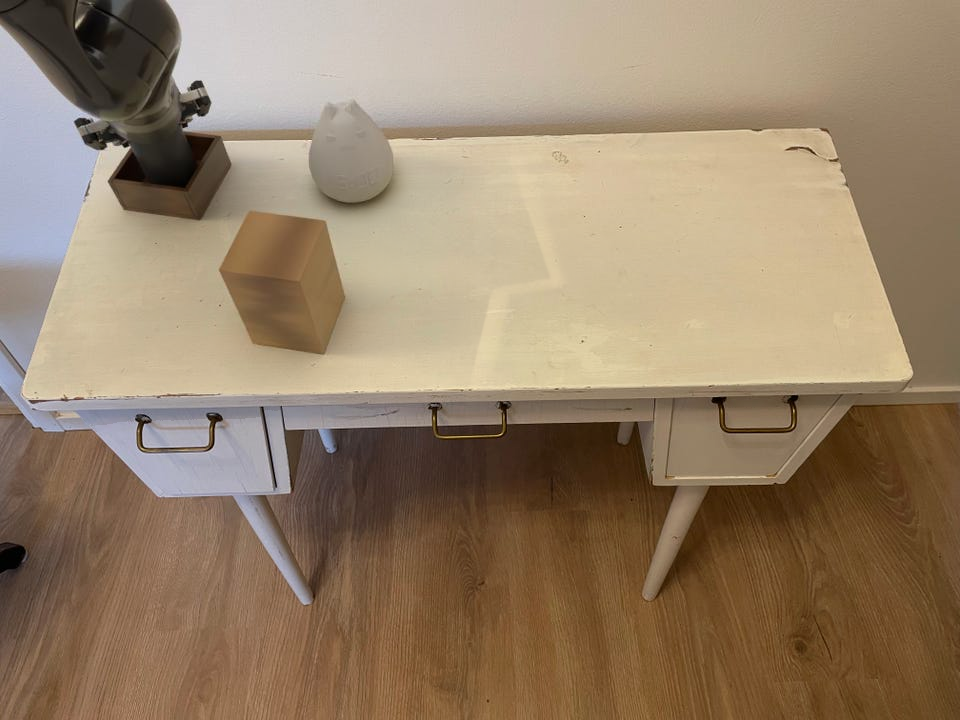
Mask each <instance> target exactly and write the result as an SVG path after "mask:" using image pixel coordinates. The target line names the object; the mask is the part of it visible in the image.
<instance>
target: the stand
mask: <svg viewBox="0 0 960 720" xmlns="http://www.w3.org/2000/svg"><path fill="white" fill-rule="evenodd" d="M218 272H219V274H220V276H221V279H222V280H223V282H224V285H225V286H226V288H227V291H228V293H229V296H230V298H231V300H232V301H233V304H234V306H235V308H236V310H237V313H238V314H239V317H240V319H241V321H242V323H243V325H244V327H245V330H246V332H247V334H248V336H249V338H250V340H251V343H252V344H254V345H261V346H267V347H275V348H280V349H287V350H294V351H299V352H305V353H313V354H319V355H324V354H325V352H326V350H327V347H328V344H329V342H330V339H331V336H332V334H333V331H334V329H335V325H336V322H337V320H338V317H339V315H340V312H341V309H342V307H343V305H344V304H343V303H344V302H345V299H346V295H345V291H344V287H343V286H344V285H343V283H342V279H341V276H340V271H339V268H338V264H337V260H336V255H335V253H334V248H333V244H332V241H331V237H330V233H329V229H328V224H327V221H326V219H325V220H323V219H317V218H310V217H309V218H308V217H302V216H295V215H286V214H279V213H272V212H266V211H265V212H264V211H257V210H248V212H247V214H246V216H245V218H244V219H243V222H242V224H241V226H240V228H239V229H238V231H237V233H236V235H235V238H234V240H233V242H232V243H231V245H230V247H229V249H228V251H227V253H226V255H225V257H224V258H223V261H222V263H221V264H220V266H219V268H218Z"/></svg>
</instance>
